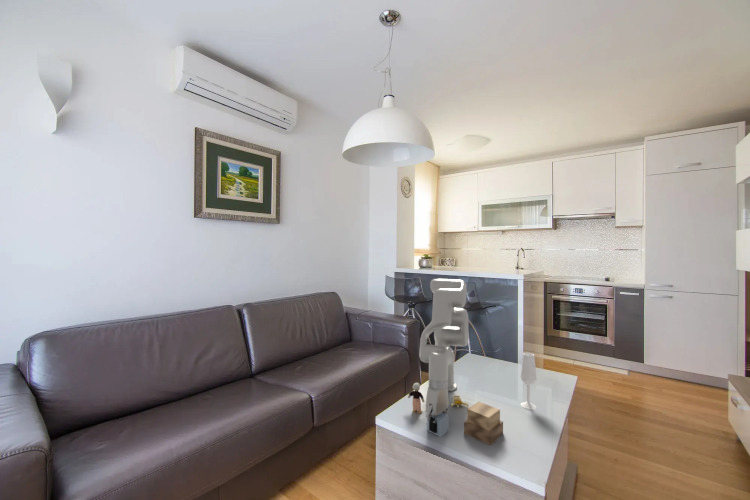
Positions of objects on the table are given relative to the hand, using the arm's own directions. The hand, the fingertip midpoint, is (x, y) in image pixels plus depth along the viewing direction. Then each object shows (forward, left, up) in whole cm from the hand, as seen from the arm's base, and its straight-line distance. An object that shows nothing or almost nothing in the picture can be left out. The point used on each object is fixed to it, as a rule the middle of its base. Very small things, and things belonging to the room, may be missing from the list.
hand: (437, 427), depth 127 cm
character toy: (-5, +23, -2) cm, 24 cm away
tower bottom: (+14, +11, -1) cm, 18 cm away
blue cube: (0, 0, -1) cm, 1 cm away
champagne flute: (+19, +47, -1) cm, 51 cm away
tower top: (+14, +11, +4) cm, 18 cm away
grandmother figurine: (-15, +6, -1) cm, 16 cm away
